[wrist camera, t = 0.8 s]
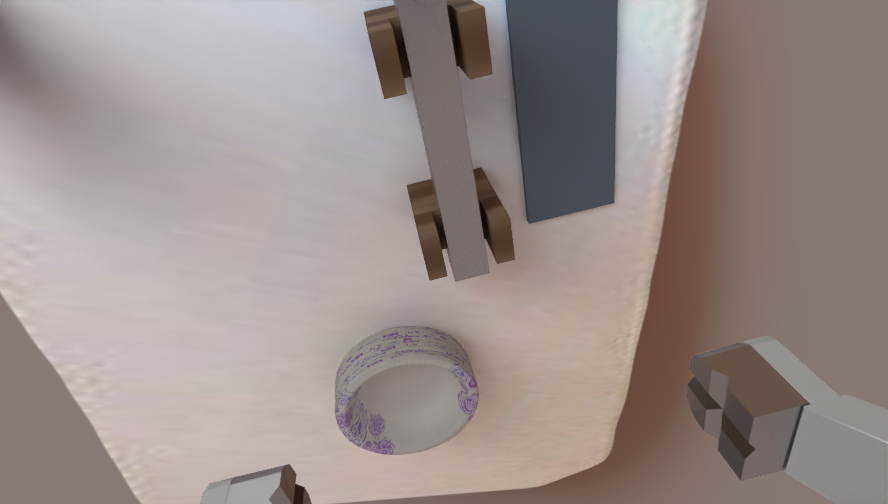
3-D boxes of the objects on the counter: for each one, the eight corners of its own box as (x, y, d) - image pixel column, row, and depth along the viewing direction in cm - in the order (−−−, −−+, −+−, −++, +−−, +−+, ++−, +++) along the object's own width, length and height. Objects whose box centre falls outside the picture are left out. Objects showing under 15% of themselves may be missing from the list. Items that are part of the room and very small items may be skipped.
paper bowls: (489, 356, 60) (507, 408, 54) (394, 418, 64) (399, 474, 57) (411, 283, 52) (420, 333, 46) (307, 358, 56) (302, 415, 49)
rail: (391, -9, 32) (395, -4, 30) (436, -19, 32) (443, -15, 30) (449, 262, 44) (455, 281, 42) (481, 254, 44) (489, 273, 42)
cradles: (363, 11, 38) (368, 33, 29) (454, -9, 38) (484, 6, 30) (415, 221, 48) (429, 280, 40) (486, 204, 49) (515, 259, 40)
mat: (499, -65, 36) (501, -65, 36) (615, -91, 37) (619, -91, 36) (527, 220, 50) (529, 223, 50) (611, 200, 51) (614, 202, 50)
